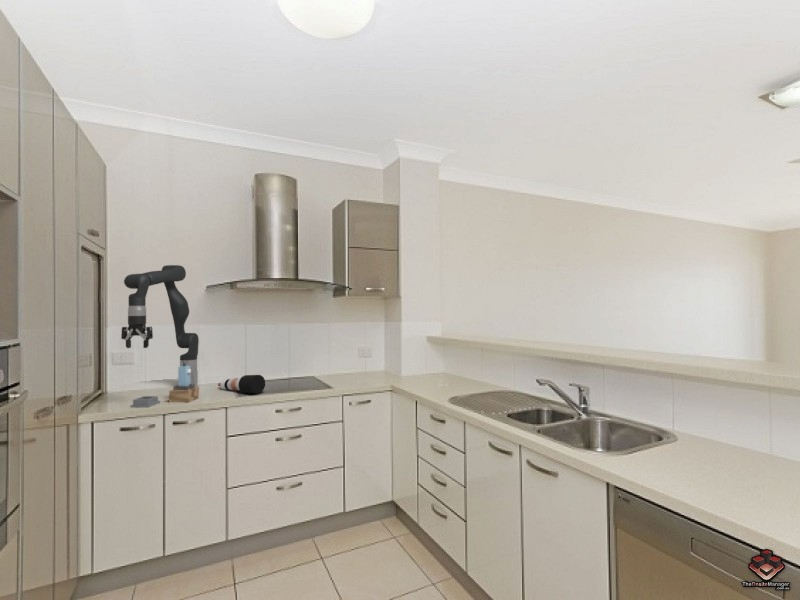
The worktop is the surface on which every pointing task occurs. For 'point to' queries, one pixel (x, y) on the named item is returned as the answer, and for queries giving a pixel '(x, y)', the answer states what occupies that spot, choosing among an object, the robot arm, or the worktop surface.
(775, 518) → the worktop surface
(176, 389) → the upper stand
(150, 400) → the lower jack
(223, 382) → the black and white bottle
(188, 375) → the plug
